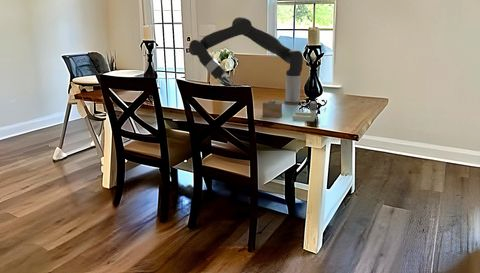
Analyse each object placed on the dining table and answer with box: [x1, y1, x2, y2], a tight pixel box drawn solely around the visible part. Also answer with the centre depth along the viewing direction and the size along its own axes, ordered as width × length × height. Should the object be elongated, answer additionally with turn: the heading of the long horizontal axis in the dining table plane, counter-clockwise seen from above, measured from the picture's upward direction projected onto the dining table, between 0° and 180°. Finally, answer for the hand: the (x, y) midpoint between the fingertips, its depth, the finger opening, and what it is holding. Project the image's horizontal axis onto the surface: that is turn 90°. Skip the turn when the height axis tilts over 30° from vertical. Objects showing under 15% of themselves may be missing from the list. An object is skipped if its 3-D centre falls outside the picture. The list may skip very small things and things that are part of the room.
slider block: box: [262, 99, 283, 119], centre depth 233 cm, size 5×10×9 cm, turn 73°
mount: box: [292, 109, 317, 122], centre depth 229 cm, size 9×12×6 cm
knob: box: [309, 101, 318, 111], centre depth 224 cm, size 4×4×4 cm
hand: (235, 91), depth 237 cm, fingers closed
